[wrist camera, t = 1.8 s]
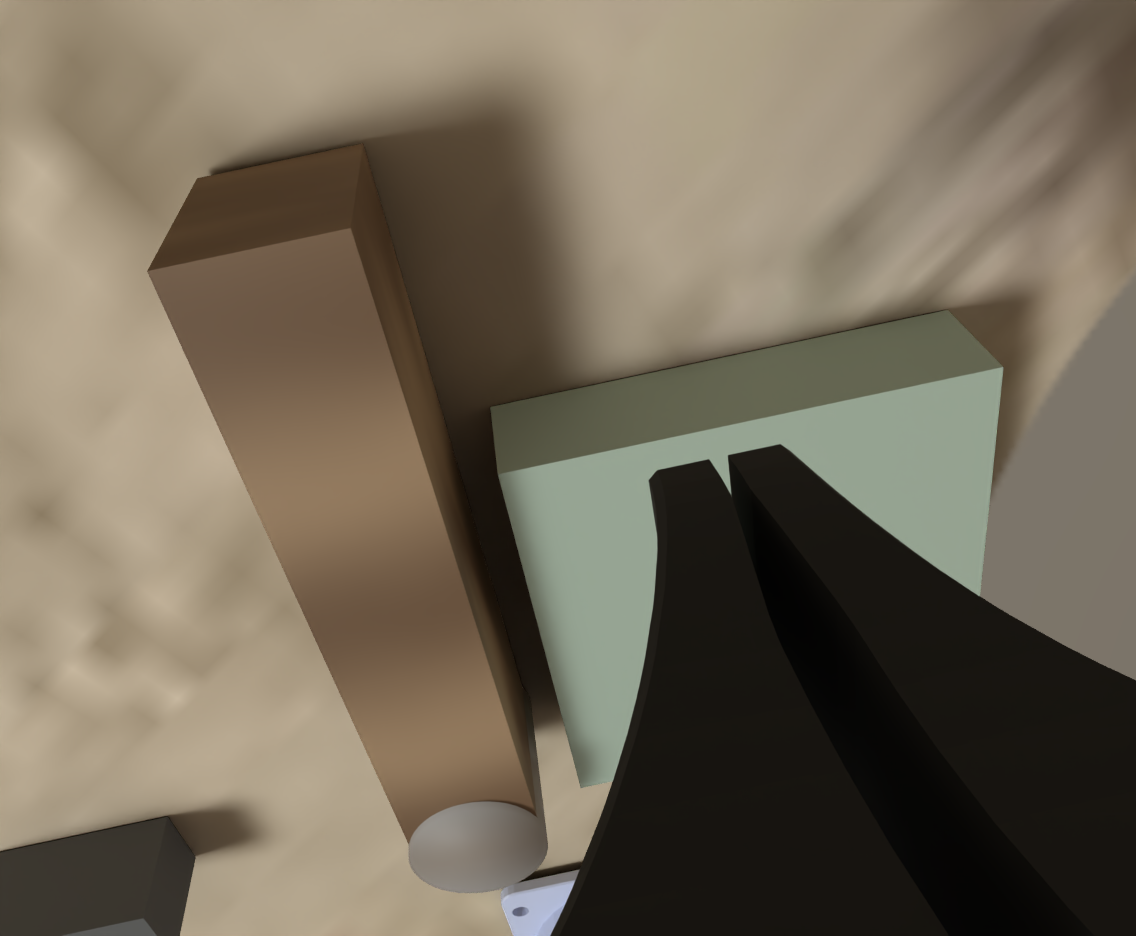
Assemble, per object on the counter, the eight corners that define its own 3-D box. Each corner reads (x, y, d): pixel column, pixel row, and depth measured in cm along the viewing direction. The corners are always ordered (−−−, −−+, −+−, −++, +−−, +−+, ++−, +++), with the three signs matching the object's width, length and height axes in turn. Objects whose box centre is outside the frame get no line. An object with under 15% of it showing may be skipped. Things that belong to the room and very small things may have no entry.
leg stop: (195, 857, 29) (174, 958, 26) (26, 893, 29) (-11, 998, 26) (167, 816, 28) (143, 918, 25) (-9, 854, 28) (-51, 959, 25)
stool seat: (927, 635, 27) (968, 705, 25) (568, 711, 27) (581, 787, 25) (947, 309, 21) (1003, 366, 19) (490, 406, 21) (497, 474, 19)
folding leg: (541, 738, 27) (558, 877, 24) (426, 762, 27) (428, 904, 24) (368, 142, 18) (357, 231, 14) (192, 179, 18) (136, 278, 14)
